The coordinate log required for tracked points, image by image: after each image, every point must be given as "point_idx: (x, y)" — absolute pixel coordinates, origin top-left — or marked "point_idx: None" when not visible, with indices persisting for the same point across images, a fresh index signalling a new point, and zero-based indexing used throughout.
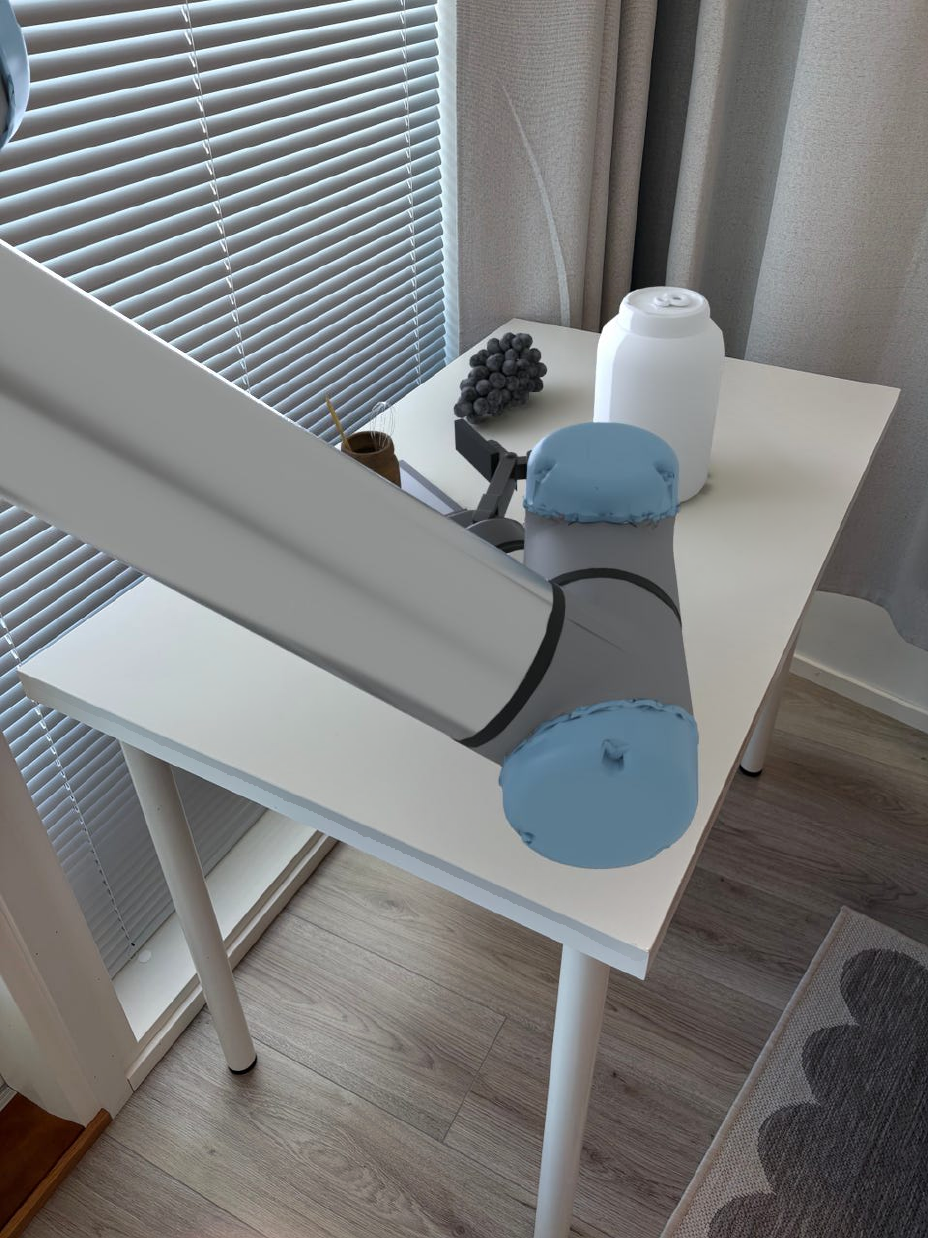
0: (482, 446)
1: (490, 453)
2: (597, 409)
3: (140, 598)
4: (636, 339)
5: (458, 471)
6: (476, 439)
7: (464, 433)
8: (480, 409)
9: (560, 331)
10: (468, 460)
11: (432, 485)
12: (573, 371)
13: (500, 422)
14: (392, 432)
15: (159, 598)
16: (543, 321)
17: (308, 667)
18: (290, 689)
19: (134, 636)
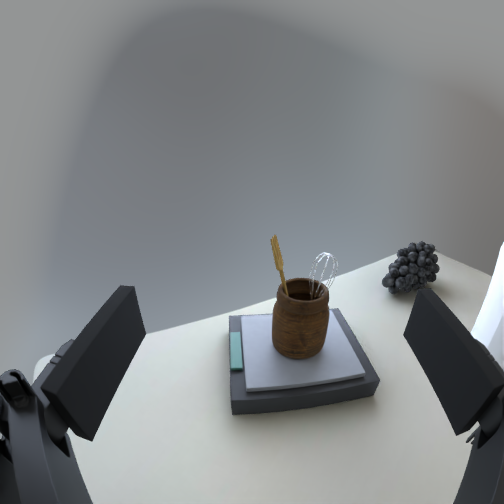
0: (475, 360)
1: (493, 385)
2: (492, 303)
3: None
4: None
5: (376, 326)
6: (461, 338)
7: (434, 317)
8: (399, 284)
9: (436, 254)
10: (423, 365)
11: (354, 337)
12: (446, 275)
13: (408, 296)
14: (330, 285)
15: None
16: None
17: (146, 481)
18: (118, 490)
19: None
